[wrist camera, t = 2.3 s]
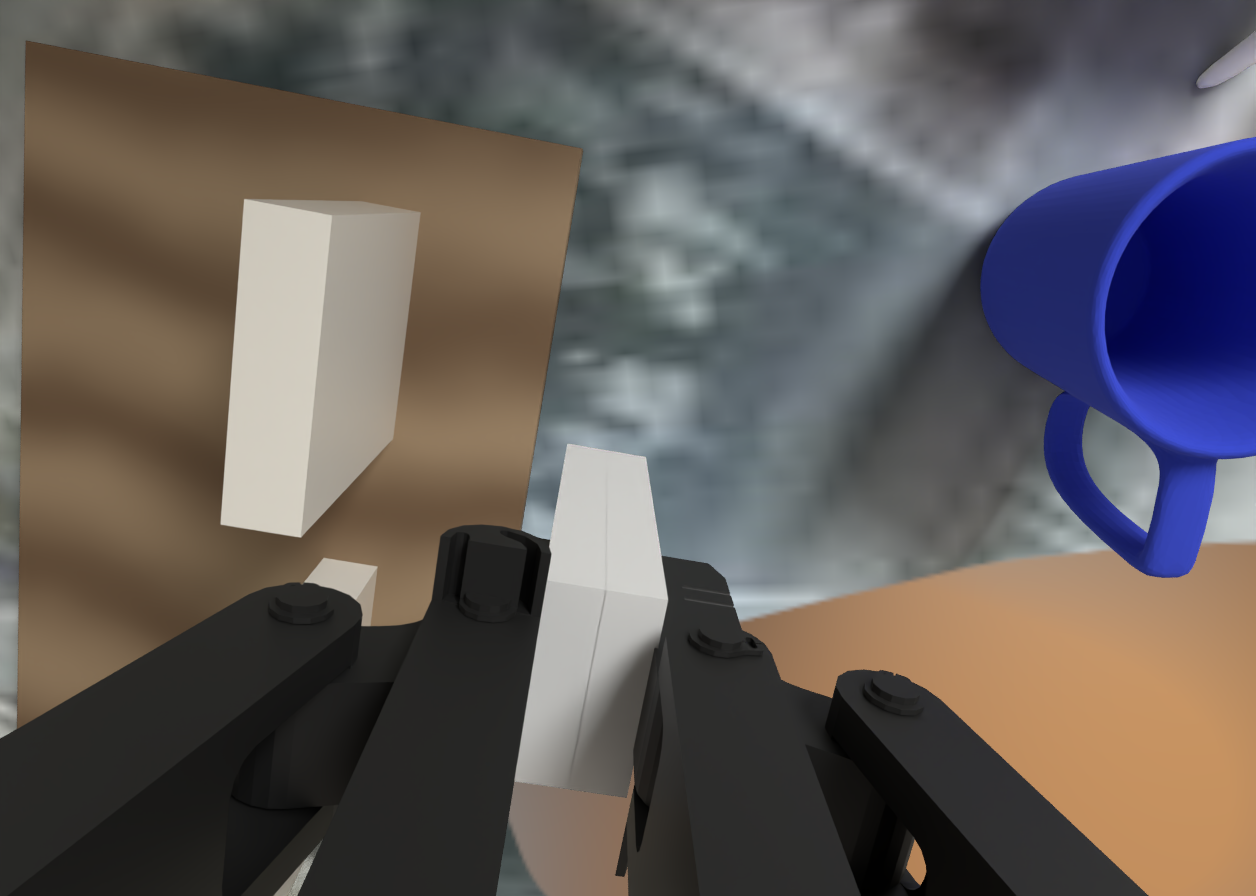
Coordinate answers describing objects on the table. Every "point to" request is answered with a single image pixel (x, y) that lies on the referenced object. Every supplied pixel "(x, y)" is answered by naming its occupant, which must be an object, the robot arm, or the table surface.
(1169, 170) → the mug
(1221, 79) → the crumpled paper ball
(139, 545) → the board
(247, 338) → the tile
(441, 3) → the table surface
